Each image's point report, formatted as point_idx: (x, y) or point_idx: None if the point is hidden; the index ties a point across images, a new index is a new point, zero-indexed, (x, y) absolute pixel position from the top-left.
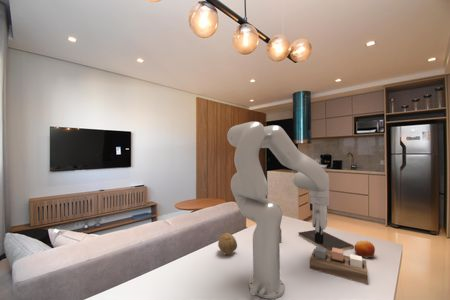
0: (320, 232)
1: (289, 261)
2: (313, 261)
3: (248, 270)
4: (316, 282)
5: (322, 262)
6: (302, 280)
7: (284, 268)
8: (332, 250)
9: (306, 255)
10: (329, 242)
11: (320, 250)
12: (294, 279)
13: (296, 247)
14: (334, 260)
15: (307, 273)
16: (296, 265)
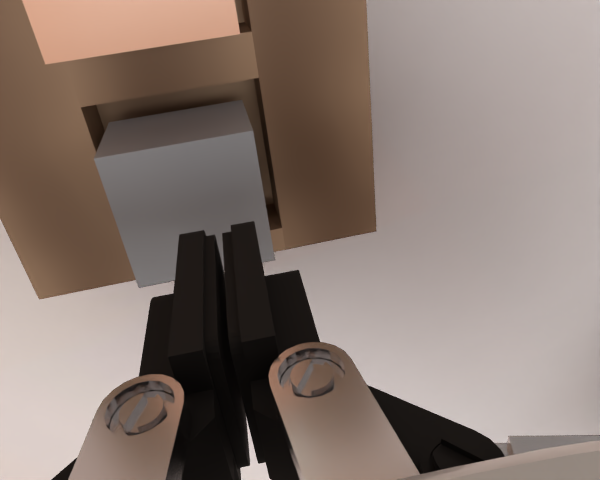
0: (400, 421)
1: (340, 346)
2: (371, 190)
3: (585, 432)
4: (548, 65)
5: (351, 102)
6: (565, 165)
7: (463, 323)
8: (199, 27)
9: (117, 303)
10: None
11: (233, 201)
12: (575, 214)
13: (29, 426)
14: None
15: (445, 174)
16: (369, 286)
